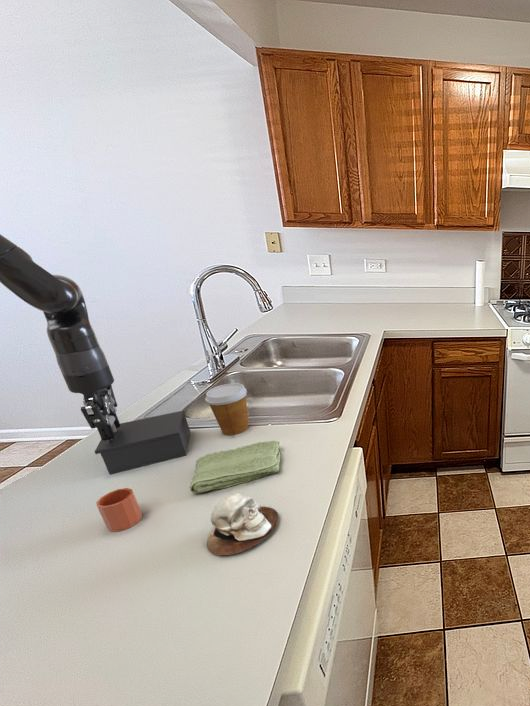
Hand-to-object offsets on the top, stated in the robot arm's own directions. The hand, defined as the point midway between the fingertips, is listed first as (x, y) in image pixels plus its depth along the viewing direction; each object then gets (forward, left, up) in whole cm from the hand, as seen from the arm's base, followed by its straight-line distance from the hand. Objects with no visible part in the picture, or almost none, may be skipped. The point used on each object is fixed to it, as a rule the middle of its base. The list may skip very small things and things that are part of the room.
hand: (111, 433), depth 94 cm
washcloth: (+29, -12, -7) cm, 32 cm away
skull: (+35, -33, -7) cm, 49 cm away
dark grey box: (+6, +2, -7) cm, 10 cm away
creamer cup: (+12, -24, -7) cm, 28 cm away
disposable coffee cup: (+23, +8, -7) cm, 25 cm away
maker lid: (+6, +1, -1) cm, 6 cm away
